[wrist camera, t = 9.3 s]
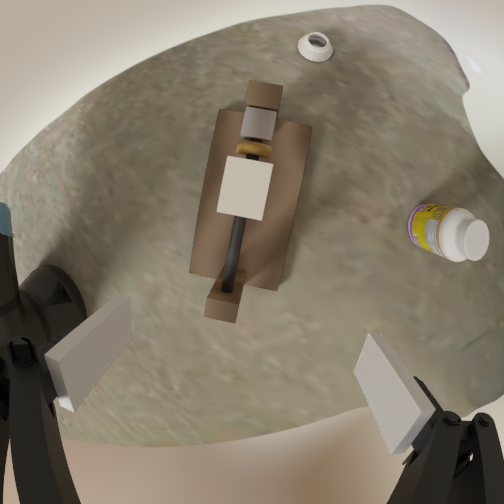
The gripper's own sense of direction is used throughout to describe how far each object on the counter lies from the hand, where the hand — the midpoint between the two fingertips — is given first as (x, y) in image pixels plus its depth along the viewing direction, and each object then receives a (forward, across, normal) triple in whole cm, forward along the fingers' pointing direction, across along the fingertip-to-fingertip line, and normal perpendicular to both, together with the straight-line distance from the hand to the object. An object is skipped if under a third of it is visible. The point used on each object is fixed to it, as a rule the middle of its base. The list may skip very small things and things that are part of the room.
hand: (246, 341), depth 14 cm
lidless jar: (+24, -4, -30) cm, 39 cm away
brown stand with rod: (+23, +2, -6) cm, 24 cm away
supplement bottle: (+23, -24, -8) cm, 35 cm away
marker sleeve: (+16, +2, -8) cm, 17 cm away
